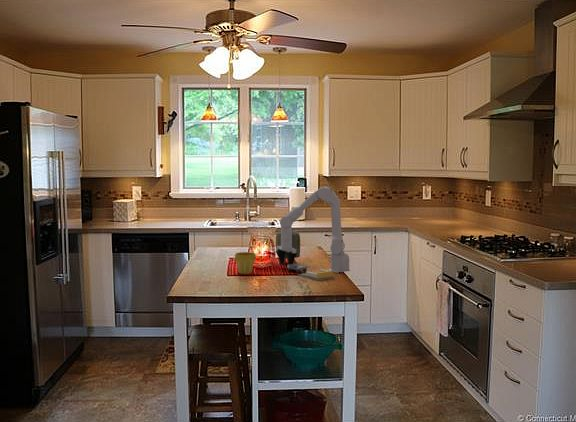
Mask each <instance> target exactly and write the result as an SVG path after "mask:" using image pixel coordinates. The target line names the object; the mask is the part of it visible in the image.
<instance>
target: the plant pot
mask: <svg viewBox="0 0 576 422" xmlns="http://www.w3.org/2000/svg"><path fill="white" fill-rule="evenodd" d="M256 256H257V254H256V252H251V251H247V252H246V251H244V252H243V251H242V252H241V251H240V252H236V253H235V254H234V260H235V261H236V266H237V270H238V271H237V272H238V274H243V275H248V274H252V272H253V269H254V268H253V267H254V264H255V261H256V259H257V258H256Z"/></svg>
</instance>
